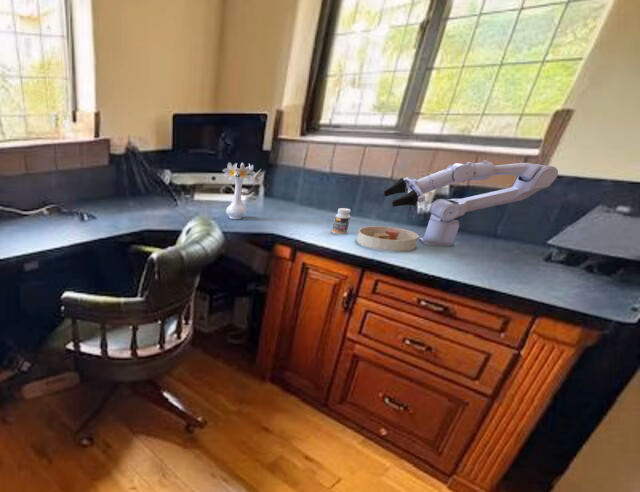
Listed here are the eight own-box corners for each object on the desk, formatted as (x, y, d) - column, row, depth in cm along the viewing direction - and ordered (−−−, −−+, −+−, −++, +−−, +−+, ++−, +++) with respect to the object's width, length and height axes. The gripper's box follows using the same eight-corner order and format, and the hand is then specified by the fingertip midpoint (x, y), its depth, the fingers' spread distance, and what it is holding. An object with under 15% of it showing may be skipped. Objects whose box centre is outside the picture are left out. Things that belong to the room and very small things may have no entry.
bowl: (408, 239, 167) (411, 227, 165) (421, 254, 151) (425, 242, 148) (352, 235, 173) (355, 225, 171) (359, 250, 156) (362, 238, 154)
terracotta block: (396, 240, 164) (399, 230, 162) (394, 243, 161) (397, 232, 159) (384, 239, 166) (387, 229, 164) (382, 241, 163) (385, 231, 161)
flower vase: (252, 222, 195) (259, 165, 183) (214, 219, 203) (218, 163, 191) (259, 216, 205) (266, 161, 193) (222, 213, 213) (226, 160, 201)
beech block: (382, 243, 161) (385, 232, 159) (387, 246, 158) (390, 235, 156) (371, 243, 162) (374, 232, 160) (376, 246, 158) (379, 235, 156)
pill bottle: (331, 234, 176) (336, 210, 171) (332, 230, 180) (337, 207, 175) (345, 235, 173) (351, 211, 169) (346, 232, 178) (352, 208, 173)
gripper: (420, 165, 155) (380, 180, 160) (439, 183, 146) (395, 199, 150) (420, 181, 160) (381, 195, 165) (438, 200, 150) (396, 215, 155)
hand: (388, 198), depth 158 cm, fingers open, 7 cm apart
